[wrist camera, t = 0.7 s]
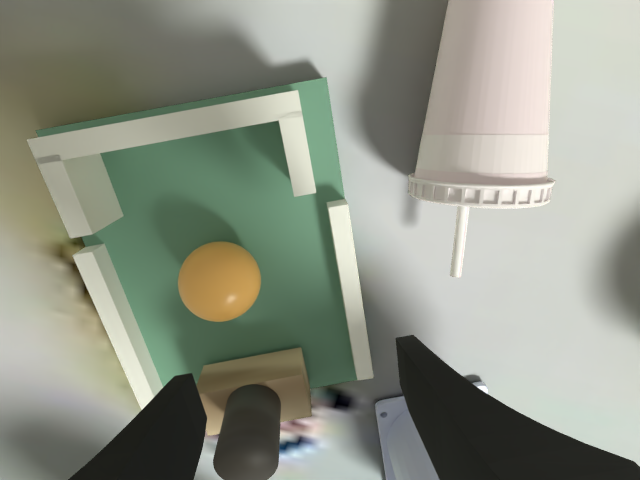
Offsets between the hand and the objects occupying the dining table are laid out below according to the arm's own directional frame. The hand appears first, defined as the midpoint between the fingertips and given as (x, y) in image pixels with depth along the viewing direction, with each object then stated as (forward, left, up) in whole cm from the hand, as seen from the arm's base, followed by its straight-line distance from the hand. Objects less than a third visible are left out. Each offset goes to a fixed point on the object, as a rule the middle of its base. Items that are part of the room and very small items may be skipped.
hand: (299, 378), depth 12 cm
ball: (+1, +4, -6) cm, 7 cm away
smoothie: (+13, -11, -7) cm, 18 cm away
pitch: (+1, +4, -10) cm, 10 cm away
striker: (-6, +4, -8) cm, 11 cm away
